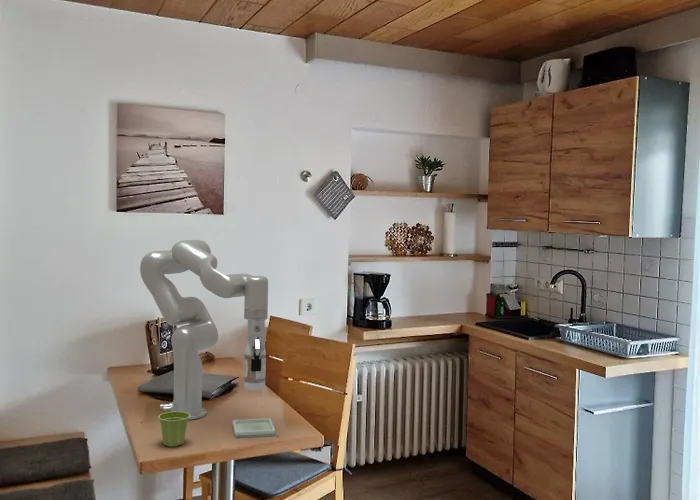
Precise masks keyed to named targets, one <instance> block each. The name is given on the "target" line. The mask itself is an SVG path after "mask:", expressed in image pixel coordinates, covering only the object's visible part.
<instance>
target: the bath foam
mask: <svg viewBox="0 0 700 500" xmlns="http://www.w3.org/2000/svg"><path fill="white" fill-rule="evenodd" d="M256 329H257V328H256ZM253 349H255V348H253ZM243 356H244V357H243V389H244V390H246V391H251V392H252V391H253V392H256V391H262V390H264V389H266V374H267V372H266V371H267V369H266V367H267V364H266V363H267V352H266V349H265V350H263V349H261V371H251V359H252V350H250V348H249V343H248V342H247V344H246V345H245V348H244V353H243Z"/></svg>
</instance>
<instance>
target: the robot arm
mask: <svg viewBox="0 0 700 500" xmlns="http://www.w3.org/2000/svg"><path fill="white" fill-rule="evenodd" d="M139 265H140V267H139V271H140V272H139V273H140V277H141V280H142V282H143V284H144V286H146V287H145V288H146V289H147V290H148V291H149V293H150V294H151V295H152V297H153V299H154V302H155V304H156V306H157V309H159V312H160V313H161V316H162V317H163V319H164V321H165V323H167V325H169V326H172V327H173V326H175V327H176V326H179V327H177V328H176V329H175V330H174V331H173V332H172V335H171V338H170V339H171V347H172V348H171V349H172V354H173V400H172V402H169V403H160V404H159V407H160V408H159V409H160V410H163V412H164V411H165V412H173V411H180V412H186V413H189V414H190V417H189V419H188V421H189V420H197V419H200V418H203V417H205V416H206V414H207V411H206V408H204V407H202V404H203V403H202V400H203V397H202V396H203V394H202V393H203V362H202V359H201V358H202V357H200V355H199V354H200V353H199V351H204V350H206V349H210V348H212V347H214V346H216V344H217V343H218V340H219V331H218V329H217V327H216V324H215V321H214V320H213V318H212V317H211V315H210V313H209V310H208V309H207V307H206V305H205V303H203V301H202V300H201V299H199V298H197V297H195V296H186V297H183V296H181V294H180V292H179V291H178V289H177V287H176V285H175V284H174V282H172V280H170V278H168V277H166V276H165V275H174V274H181V273H185V272H187V271H190V272H191V273H193V274H195V275H196V276H198V277H199V281H200V282H201V284H202V286H203V287H204V288H205V289H206V290H208V291H209V292H211V293H212V294H214V295H215V296H218V297H219V298H223V299H231V298H239V297H244V310H243V311H244V312H243V313H244V314H243V316H244V317H243V319H244V320H247V344H248V343H249V348H250V350H252V359H251V371H261V349H263V350H266V325H265V324H266V321H265V320H267V319H268V318H269V317H268V315H269V314H268V307H269V306H268V305H269V279H268V278H267V277H266V276H264V275H263V276H262V275H251V274H248V273H233V274H232V273H231V274H225V273H222V272H220V271H219V270H217V268H218V259H217V257H216V256H215V255H213V254H212V251H211V248H210V246H209V244H208V243H207V242H206V241H204V240H202V239H190V240H189V239H183V240H180V241H177V242H175V244H173V246H172V248H171V250H155V251H151V252H148V253H146V254H145V255H144V256H143V257H142V259H141V261H140V264H139ZM256 328H257V329H256ZM253 348H255V349H253Z"/></svg>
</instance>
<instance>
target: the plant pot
mask: <svg viewBox="0 0 700 500" xmlns="http://www.w3.org/2000/svg"><path fill="white" fill-rule="evenodd" d="M189 417H190V414H189V413H186V412H180V411H173V412H169V411H165V412H163V413H160V414H159V415H158V416H157V418H158V420H159V423H160V428H161V435H162V444H163V445H164V446H166V447H172V448H174V447H177V446H179V445H180V446H181V445H182V446H183V445H184V443H185V438H186V433H187V427H188V422H189V420H188V419H189Z"/></svg>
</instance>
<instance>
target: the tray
mask: <svg viewBox="0 0 700 500" xmlns="http://www.w3.org/2000/svg"><path fill="white" fill-rule="evenodd" d="M232 430H233V434H234V438H235V439H245V438H262V437H276V428H275V427H274V424H273V421H272V419H271V418H270V417H268V418H248V419H246V418H245V419H232Z"/></svg>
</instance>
